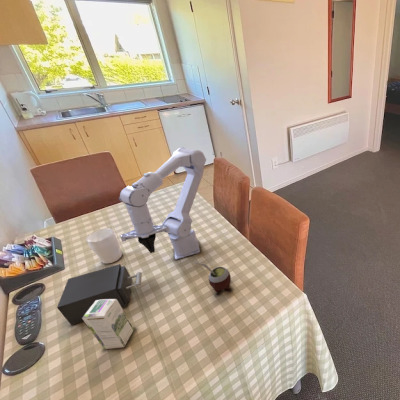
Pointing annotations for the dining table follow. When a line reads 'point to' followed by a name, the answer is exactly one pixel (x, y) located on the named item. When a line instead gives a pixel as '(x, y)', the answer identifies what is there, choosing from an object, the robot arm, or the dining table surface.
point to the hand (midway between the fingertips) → (152, 251)
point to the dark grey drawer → (127, 283)
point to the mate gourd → (218, 278)
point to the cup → (104, 245)
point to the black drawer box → (89, 292)
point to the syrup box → (108, 323)
